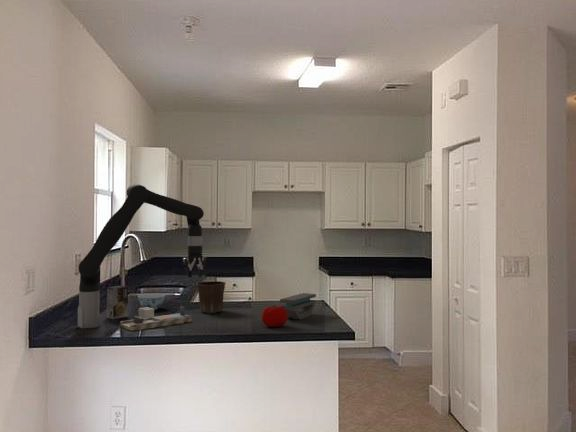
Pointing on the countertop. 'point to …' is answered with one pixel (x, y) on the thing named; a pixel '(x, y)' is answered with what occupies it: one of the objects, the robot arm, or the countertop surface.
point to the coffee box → (117, 302)
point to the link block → (146, 312)
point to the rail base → (150, 323)
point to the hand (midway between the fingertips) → (195, 277)
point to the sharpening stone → (299, 305)
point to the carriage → (172, 316)
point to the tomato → (274, 316)
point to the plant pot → (211, 296)
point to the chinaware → (151, 300)
